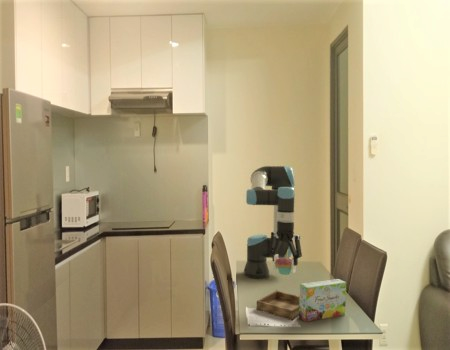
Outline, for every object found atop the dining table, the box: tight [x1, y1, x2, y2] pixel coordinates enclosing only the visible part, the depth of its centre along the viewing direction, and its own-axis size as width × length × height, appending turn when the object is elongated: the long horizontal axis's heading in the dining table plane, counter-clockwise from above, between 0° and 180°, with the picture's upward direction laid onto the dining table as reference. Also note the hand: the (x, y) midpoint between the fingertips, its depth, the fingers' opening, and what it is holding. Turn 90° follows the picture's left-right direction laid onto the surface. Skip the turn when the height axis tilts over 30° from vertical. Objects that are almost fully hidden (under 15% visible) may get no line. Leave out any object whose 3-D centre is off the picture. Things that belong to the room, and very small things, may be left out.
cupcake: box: [275, 248, 292, 276], centre depth 172 cm, size 9×8×12 cm
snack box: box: [298, 278, 347, 323], centre depth 164 cm, size 21×6×15 cm, turn 114°
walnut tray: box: [256, 290, 300, 321], centre depth 173 cm, size 18×18×4 cm
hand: (284, 270), depth 172 cm, fingers closed on cupcake, 8 cm apart
